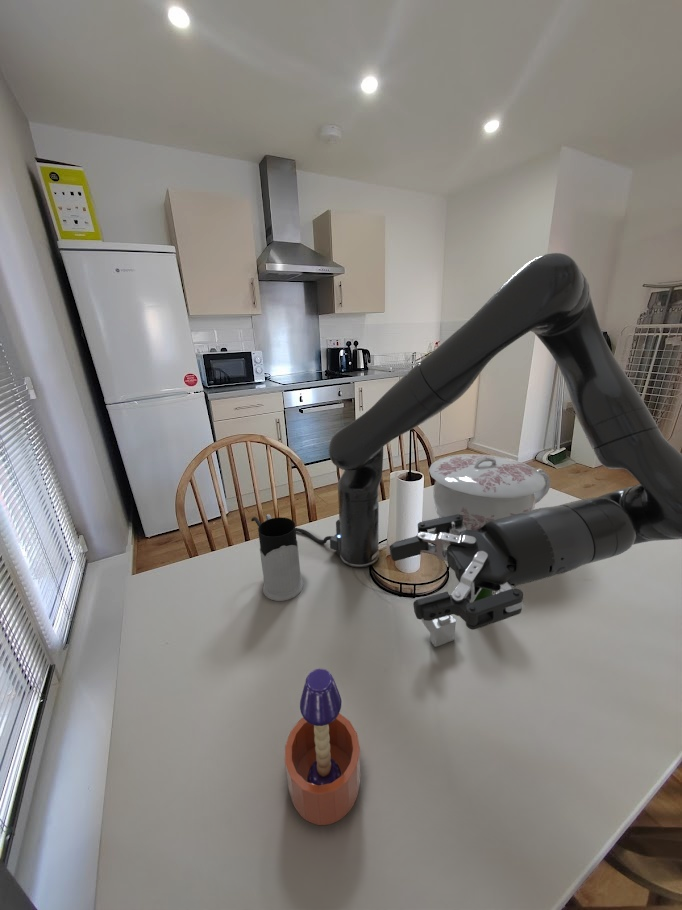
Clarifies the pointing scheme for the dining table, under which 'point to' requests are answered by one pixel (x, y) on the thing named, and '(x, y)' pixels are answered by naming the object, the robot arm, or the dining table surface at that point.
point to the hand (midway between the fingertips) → (401, 579)
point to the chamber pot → (485, 487)
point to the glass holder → (279, 558)
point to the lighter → (441, 630)
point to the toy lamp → (321, 722)
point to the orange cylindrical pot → (325, 799)
